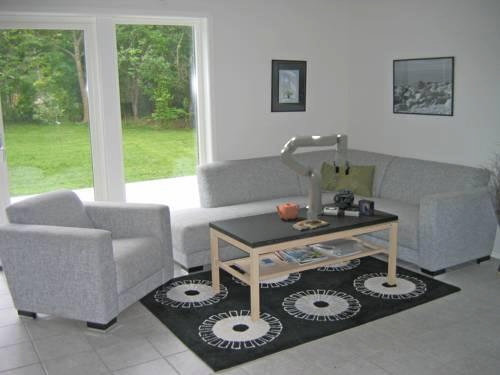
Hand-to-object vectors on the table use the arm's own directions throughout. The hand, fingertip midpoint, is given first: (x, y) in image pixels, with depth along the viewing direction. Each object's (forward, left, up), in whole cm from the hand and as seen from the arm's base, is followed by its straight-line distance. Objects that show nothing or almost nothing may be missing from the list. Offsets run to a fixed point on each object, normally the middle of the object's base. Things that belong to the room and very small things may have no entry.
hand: (342, 173), depth 394 cm
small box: (+15, +10, -31) cm, 36 cm away
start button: (+8, -51, -29) cm, 59 cm away
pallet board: (+6, -37, -30) cm, 48 cm away
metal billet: (+6, -37, -29) cm, 47 cm away
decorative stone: (-9, +12, -31) cm, 34 cm away
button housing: (+8, -50, -30) cm, 59 cm away
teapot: (-17, -40, -31) cm, 53 cm away
